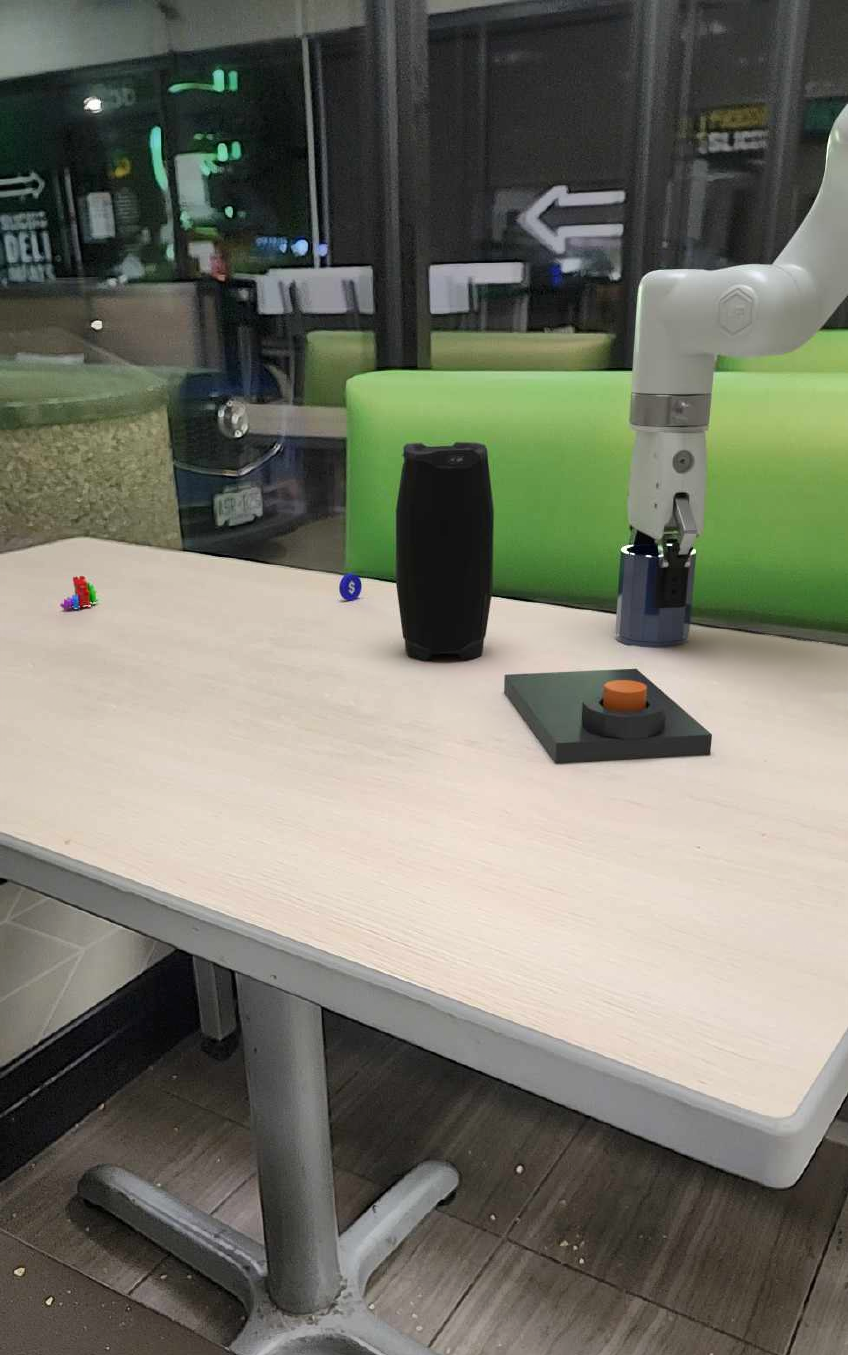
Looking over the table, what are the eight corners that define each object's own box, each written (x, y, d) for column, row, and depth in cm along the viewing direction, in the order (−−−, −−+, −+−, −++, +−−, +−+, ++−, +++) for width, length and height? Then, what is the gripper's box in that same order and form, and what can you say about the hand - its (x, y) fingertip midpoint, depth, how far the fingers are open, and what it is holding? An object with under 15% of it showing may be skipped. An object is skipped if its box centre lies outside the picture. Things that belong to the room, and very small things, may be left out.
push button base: (635, 686, 103) (637, 648, 101) (710, 756, 86) (715, 711, 85) (504, 693, 101) (504, 654, 100) (555, 764, 85) (557, 720, 83)
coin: (343, 602, 134) (343, 576, 133) (339, 601, 134) (338, 575, 133) (361, 598, 136) (361, 572, 135) (357, 597, 136) (357, 571, 135)
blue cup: (673, 628, 122) (681, 542, 118) (699, 646, 115) (707, 556, 112) (606, 631, 121) (611, 544, 117) (628, 649, 114) (634, 558, 111)
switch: (637, 700, 89) (639, 679, 88) (651, 713, 86) (653, 691, 85) (597, 702, 88) (599, 681, 88) (609, 715, 85) (611, 693, 85)
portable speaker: (380, 652, 114) (376, 445, 106) (451, 636, 119) (452, 438, 111) (437, 670, 108) (437, 452, 100) (509, 653, 113) (514, 445, 105)
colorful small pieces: (65, 613, 129) (61, 581, 128) (55, 608, 131) (51, 577, 130) (106, 606, 132) (102, 575, 131) (95, 602, 134) (92, 572, 133)
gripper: (743, 420, 102) (722, 617, 109) (675, 406, 118) (661, 579, 125) (662, 421, 101) (647, 620, 108) (604, 407, 117) (594, 581, 124)
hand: (654, 597), depth 116 cm, fingers closed on blue cup, 7 cm apart
